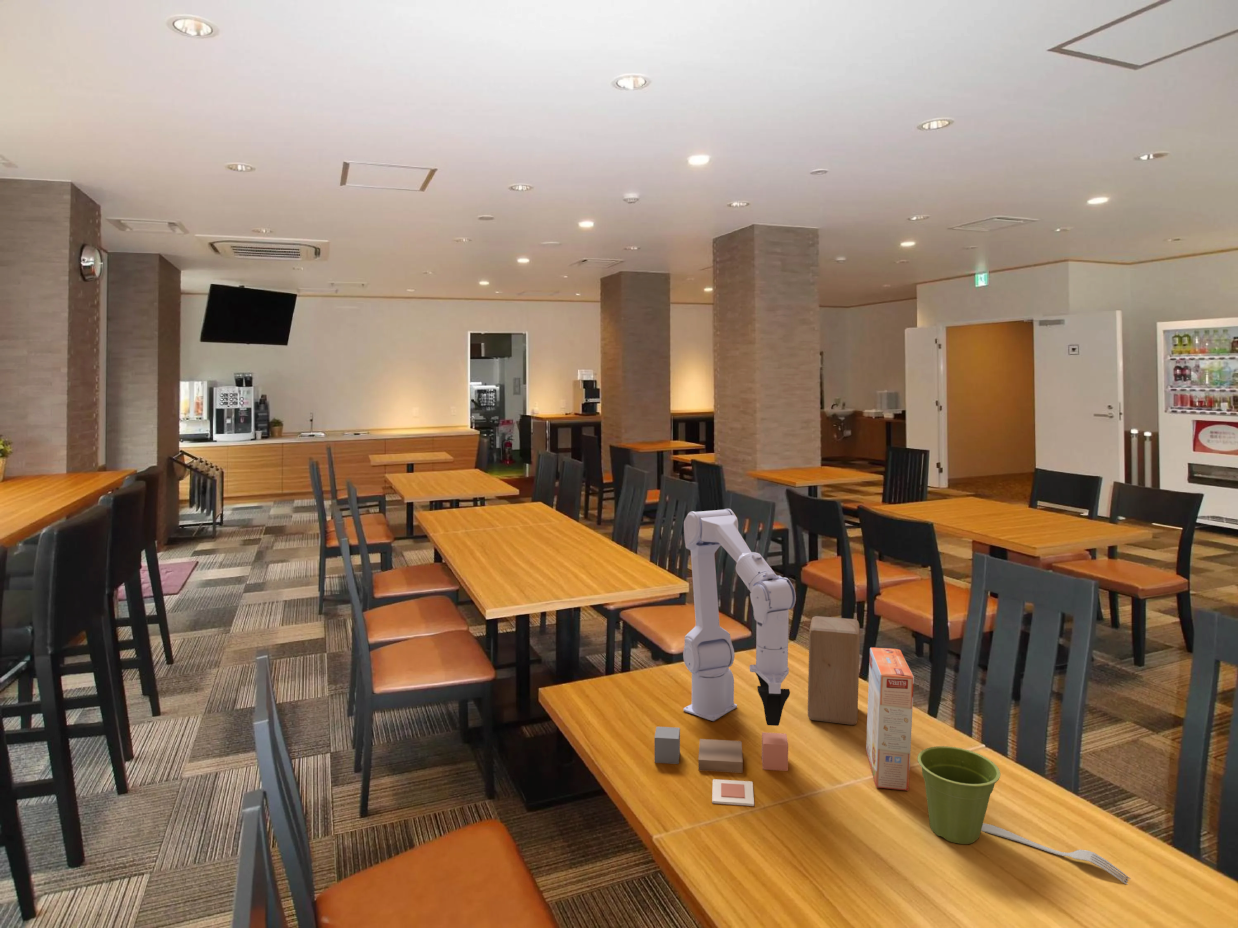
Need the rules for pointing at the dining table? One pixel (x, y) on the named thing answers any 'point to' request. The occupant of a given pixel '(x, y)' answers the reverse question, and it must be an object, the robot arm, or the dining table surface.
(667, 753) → the charcoal block
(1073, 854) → the fork
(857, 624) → the wooden block
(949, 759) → the plant pot
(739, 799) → the card
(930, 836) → the dining table surface
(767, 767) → the brick red block
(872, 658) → the cracker box
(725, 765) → the walnut base block
